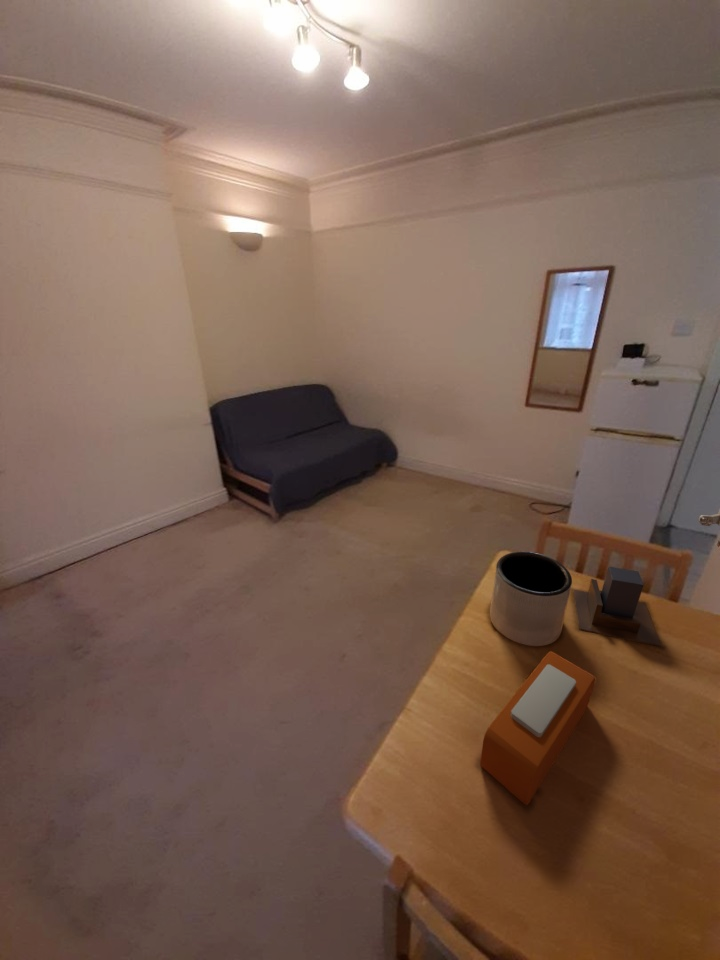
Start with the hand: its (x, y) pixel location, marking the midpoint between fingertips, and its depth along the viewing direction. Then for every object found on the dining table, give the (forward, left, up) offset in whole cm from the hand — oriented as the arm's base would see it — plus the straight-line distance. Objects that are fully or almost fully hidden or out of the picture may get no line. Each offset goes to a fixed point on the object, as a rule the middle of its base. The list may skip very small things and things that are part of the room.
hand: (709, 531), depth 81 cm
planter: (+20, +25, -28) cm, 42 cm away
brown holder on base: (+9, +7, -27) cm, 30 cm away
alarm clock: (+1, +46, -28) cm, 54 cm away
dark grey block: (+9, +7, -26) cm, 28 cm away
